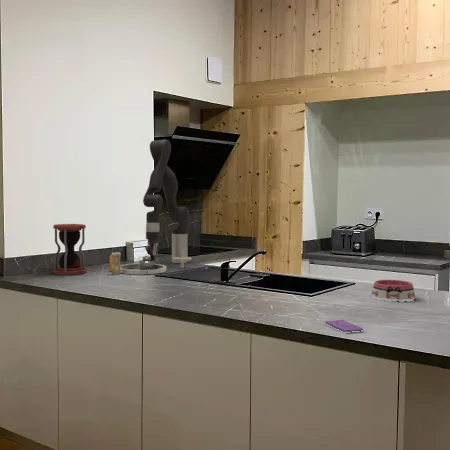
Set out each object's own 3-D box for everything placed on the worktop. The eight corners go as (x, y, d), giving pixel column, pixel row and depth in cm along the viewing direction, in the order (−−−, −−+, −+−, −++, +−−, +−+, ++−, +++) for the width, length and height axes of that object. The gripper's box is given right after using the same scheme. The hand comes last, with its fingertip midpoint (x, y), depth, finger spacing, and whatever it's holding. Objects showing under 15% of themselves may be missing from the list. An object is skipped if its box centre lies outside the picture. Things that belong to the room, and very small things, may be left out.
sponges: (342, 324, 196) (342, 319, 196) (363, 333, 184) (363, 327, 184) (324, 326, 193) (324, 320, 193) (345, 335, 181) (345, 329, 181)
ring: (112, 267, 317) (112, 252, 316) (166, 267, 320) (166, 252, 319) (107, 274, 291) (107, 258, 291) (166, 274, 294) (166, 258, 293)
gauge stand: (114, 273, 297) (114, 252, 296) (122, 274, 295) (122, 252, 294) (110, 274, 293) (110, 253, 292) (117, 275, 291) (117, 253, 290)
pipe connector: (190, 269, 314) (190, 251, 313) (172, 269, 314) (172, 251, 313) (191, 266, 324) (192, 249, 323) (174, 266, 324) (174, 249, 323)
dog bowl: (369, 301, 235) (370, 284, 235) (370, 293, 253) (371, 277, 253) (417, 304, 230) (417, 287, 230) (414, 295, 248) (415, 280, 248)
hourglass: (80, 275, 289) (80, 226, 287) (49, 274, 289) (48, 225, 287) (89, 270, 305) (89, 223, 303) (59, 270, 305) (59, 223, 303)
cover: (144, 268, 316) (144, 254, 315) (156, 269, 312) (156, 255, 312) (136, 270, 308) (136, 256, 308) (149, 271, 305) (149, 257, 305)
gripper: (152, 229, 322) (152, 260, 323) (140, 231, 310) (140, 262, 311) (164, 230, 319) (164, 261, 321) (152, 231, 307) (152, 263, 308)
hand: (152, 261), depth 316 cm, fingers closed
